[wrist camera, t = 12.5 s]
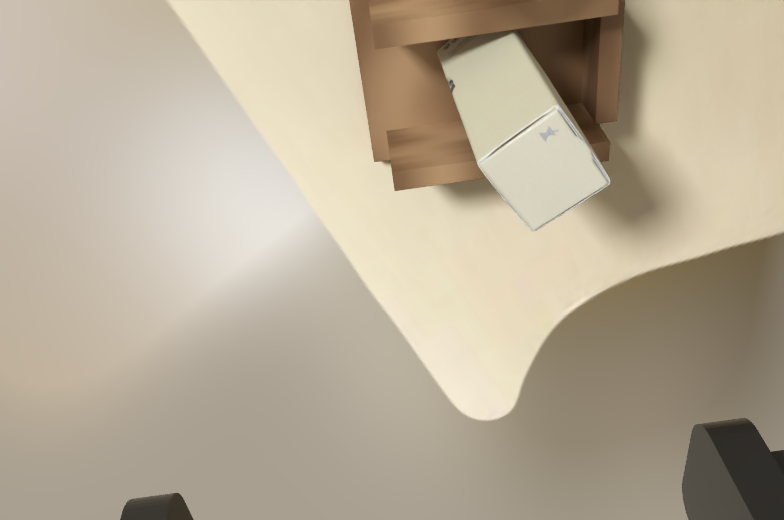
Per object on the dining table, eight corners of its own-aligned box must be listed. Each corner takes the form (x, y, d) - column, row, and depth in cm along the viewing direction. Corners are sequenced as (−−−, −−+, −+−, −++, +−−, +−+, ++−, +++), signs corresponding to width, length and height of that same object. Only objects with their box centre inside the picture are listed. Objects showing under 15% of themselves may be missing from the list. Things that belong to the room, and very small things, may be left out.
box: (433, 49, 42) (468, 160, 31) (498, -1, 40) (557, 99, 30) (484, 115, 44) (532, 238, 34) (547, 71, 43) (616, 185, 33)
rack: (603, -62, 40) (641, -31, 35) (594, 122, 46) (625, 170, 41) (345, -24, 40) (348, 12, 35) (373, 154, 46) (378, 205, 42)
